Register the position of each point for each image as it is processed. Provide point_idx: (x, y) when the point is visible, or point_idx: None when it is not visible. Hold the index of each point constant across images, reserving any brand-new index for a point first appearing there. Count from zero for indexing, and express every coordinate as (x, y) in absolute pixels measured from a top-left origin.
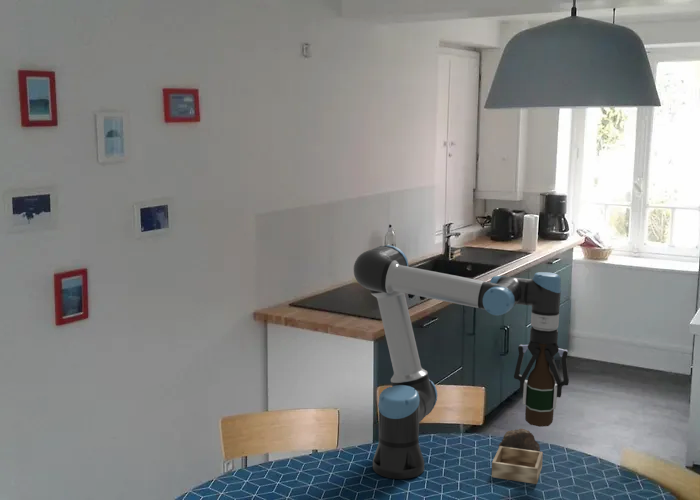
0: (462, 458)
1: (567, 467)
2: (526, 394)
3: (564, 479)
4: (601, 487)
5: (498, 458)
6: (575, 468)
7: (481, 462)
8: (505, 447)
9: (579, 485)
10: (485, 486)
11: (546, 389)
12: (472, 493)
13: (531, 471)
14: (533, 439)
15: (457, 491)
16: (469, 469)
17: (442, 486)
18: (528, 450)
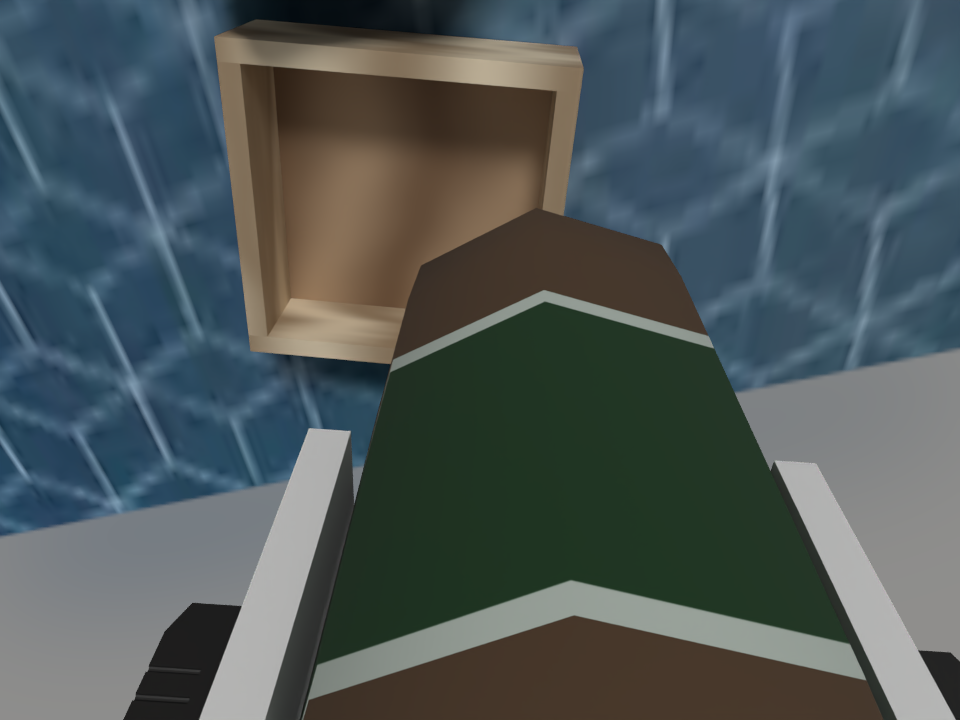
0: (8, 71)
1: (770, 13)
2: (324, 622)
3: (713, 226)
4: (928, 278)
5: (265, 212)
6: (831, 14)
7: (153, 104)
8: (268, 58)
9: (793, 284)
10: (279, 408)
11: None
12: (243, 481)
13: None
14: None
15: (173, 478)
16: (126, 234)
17: (88, 450)
18: (463, 72)
